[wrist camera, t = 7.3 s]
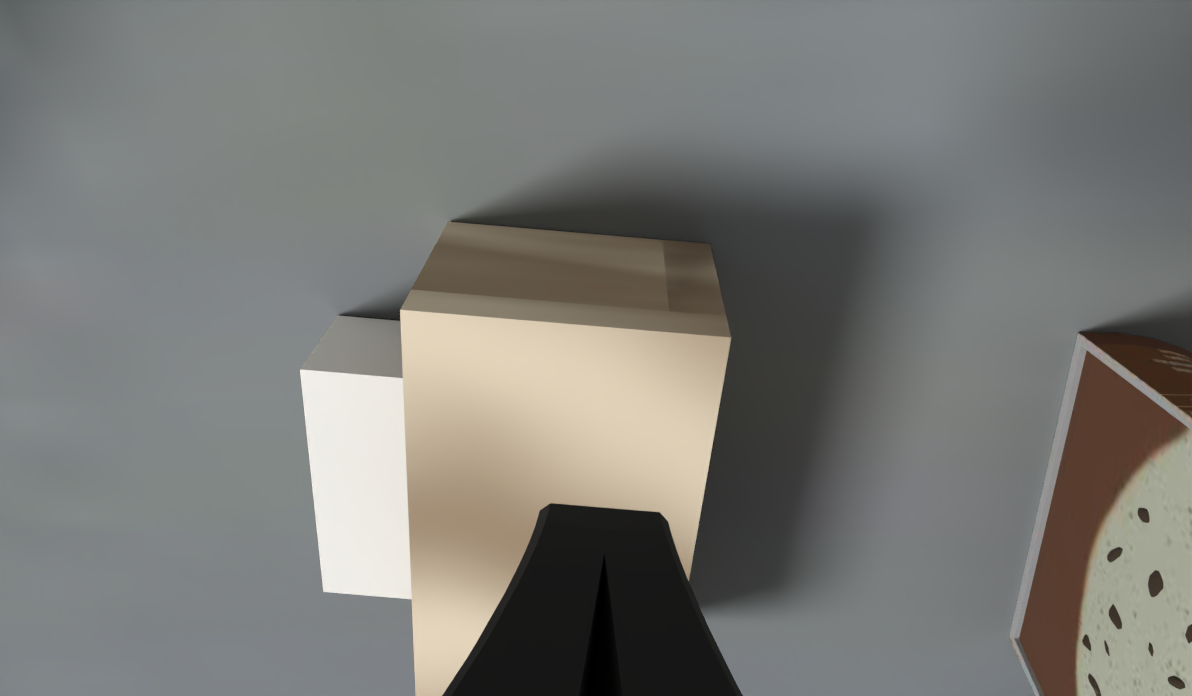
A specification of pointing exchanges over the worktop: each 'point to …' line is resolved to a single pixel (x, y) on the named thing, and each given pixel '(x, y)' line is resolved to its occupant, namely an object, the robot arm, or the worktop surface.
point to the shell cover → (359, 457)
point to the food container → (1114, 529)
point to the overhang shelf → (547, 406)
